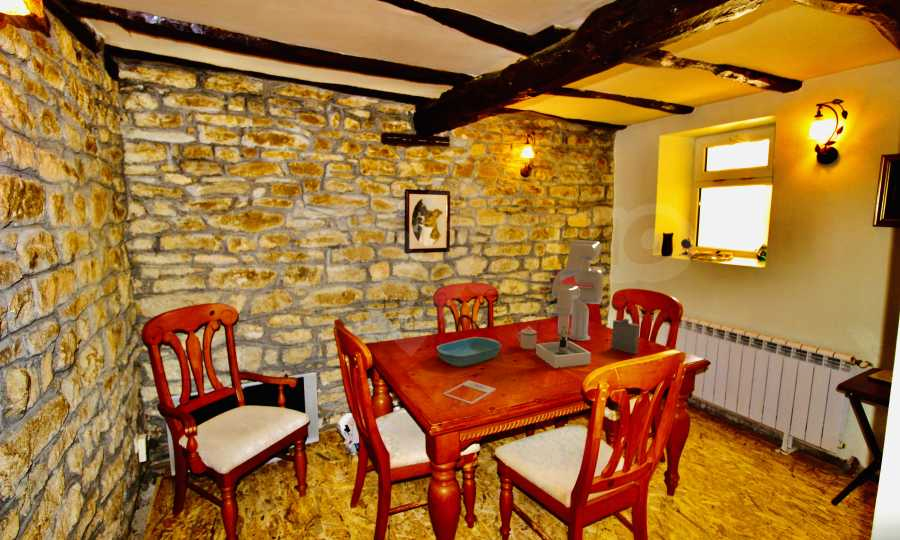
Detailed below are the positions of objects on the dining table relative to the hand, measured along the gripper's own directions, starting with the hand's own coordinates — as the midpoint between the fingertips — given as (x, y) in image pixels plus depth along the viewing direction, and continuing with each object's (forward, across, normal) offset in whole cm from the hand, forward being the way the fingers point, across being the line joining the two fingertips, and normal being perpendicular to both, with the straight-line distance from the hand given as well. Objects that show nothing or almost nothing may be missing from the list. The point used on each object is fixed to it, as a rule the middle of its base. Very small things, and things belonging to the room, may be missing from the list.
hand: (562, 345), depth 224 cm
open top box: (+7, 0, 0) cm, 7 cm away
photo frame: (+8, +51, -39) cm, 65 cm away
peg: (+3, 0, 0) cm, 3 cm away
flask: (+7, -23, +33) cm, 41 cm away
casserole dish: (+8, +10, -47) cm, 49 cm away
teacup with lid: (+8, -16, -20) cm, 27 cm away
